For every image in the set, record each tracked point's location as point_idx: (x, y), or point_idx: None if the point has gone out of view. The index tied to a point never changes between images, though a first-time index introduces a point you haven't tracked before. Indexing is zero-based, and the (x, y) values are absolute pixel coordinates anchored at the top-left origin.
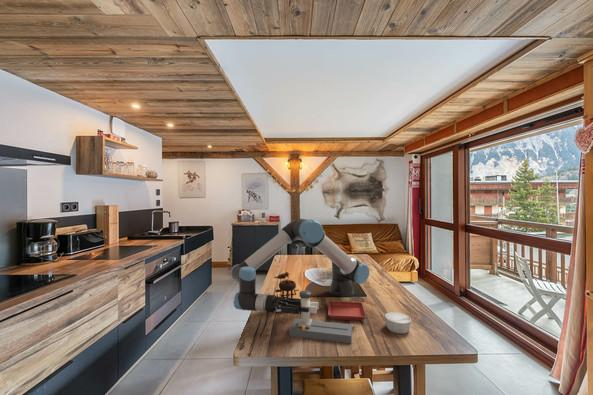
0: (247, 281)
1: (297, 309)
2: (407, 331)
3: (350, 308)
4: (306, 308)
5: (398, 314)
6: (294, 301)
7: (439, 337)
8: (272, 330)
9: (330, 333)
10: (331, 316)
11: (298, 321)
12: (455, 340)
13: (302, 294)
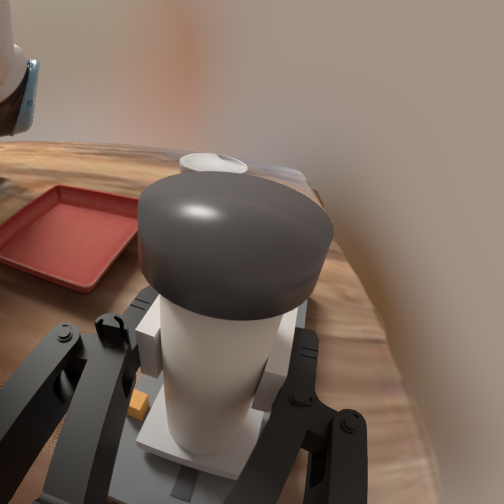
0: None
1: (361, 428)
2: None
3: (48, 220)
4: (309, 345)
5: (197, 157)
6: (96, 443)
7: (252, 170)
8: None
9: (303, 325)
10: (96, 283)
11: (136, 470)
12: (262, 165)
13: (326, 246)
